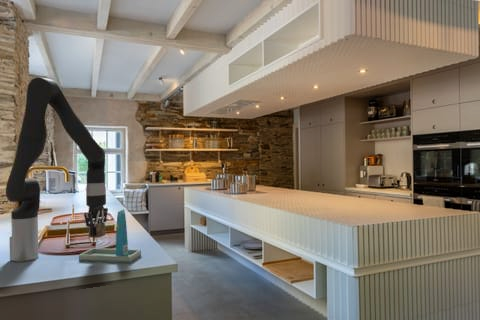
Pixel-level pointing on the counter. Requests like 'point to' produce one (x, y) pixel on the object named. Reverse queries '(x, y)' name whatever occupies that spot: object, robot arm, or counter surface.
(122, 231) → the tube
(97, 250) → the tray
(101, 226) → the walnut block
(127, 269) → the counter surface
